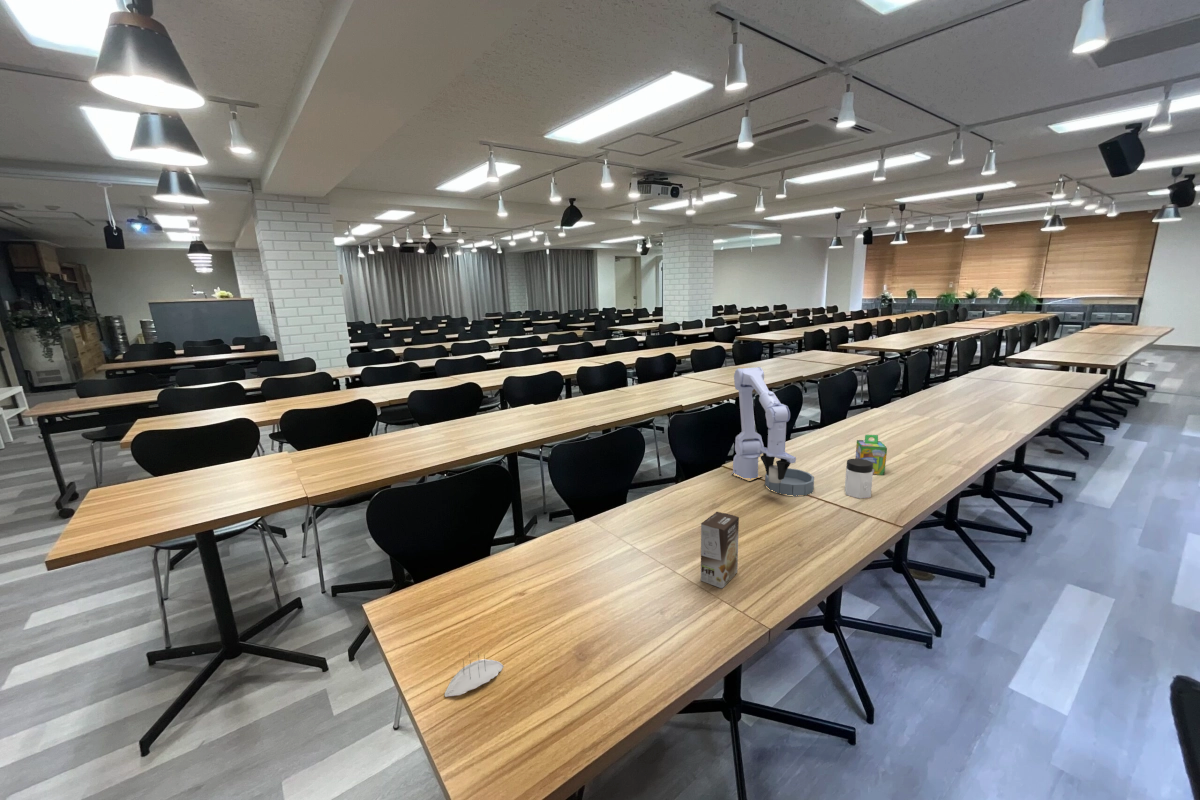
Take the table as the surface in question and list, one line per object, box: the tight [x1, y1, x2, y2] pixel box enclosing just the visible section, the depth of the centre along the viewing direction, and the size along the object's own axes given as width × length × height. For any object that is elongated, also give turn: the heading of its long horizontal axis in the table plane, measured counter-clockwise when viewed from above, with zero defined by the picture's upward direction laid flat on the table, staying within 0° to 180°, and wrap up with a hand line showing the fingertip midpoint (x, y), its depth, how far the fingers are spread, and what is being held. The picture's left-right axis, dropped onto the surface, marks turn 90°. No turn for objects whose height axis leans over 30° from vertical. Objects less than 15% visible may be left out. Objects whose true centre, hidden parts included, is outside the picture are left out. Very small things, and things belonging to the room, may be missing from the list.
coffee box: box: [700, 511, 740, 589], centre depth 121 cm, size 9×6×16 cm
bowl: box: [764, 467, 815, 497], centre depth 176 cm, size 17×17×4 cm
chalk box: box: [854, 434, 888, 476], centre depth 187 cm, size 9×9×15 cm
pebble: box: [768, 464, 782, 483], centre depth 165 cm, size 4×4×5 cm
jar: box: [844, 458, 874, 499], centre depth 167 cm, size 9×8×12 cm
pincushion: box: [444, 652, 505, 698], centre depth 91 cm, size 12×6×6 cm, turn 128°
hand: (775, 476), depth 165 cm, fingers closed on pebble, 4 cm apart
